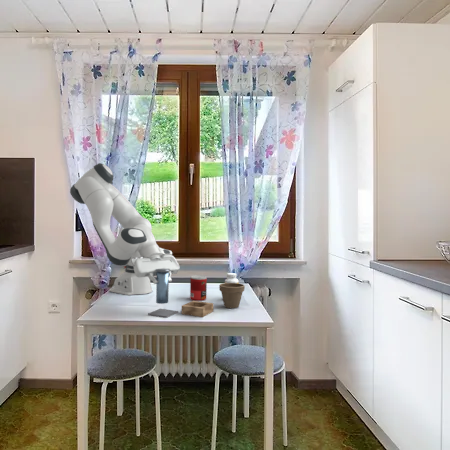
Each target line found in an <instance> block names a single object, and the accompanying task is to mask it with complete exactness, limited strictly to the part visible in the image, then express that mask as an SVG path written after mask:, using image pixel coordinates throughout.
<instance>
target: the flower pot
mask: <svg viewBox="0 0 450 450" xmlns="http://www.w3.org/2000/svg"><path fill="white" fill-rule="evenodd" d="M245 287H246V285H245V284H243V283H225V282H223V283H220V284H219V287H218V288H219V291H220V292H221V296H222V302H223V306H224V307H225V308H227V309H237V308H238V309H239V307H240V303H241V300H242V295H243V292H244V291H245Z"/></svg>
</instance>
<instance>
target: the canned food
mask: <svg viewBox="0 0 450 450" xmlns="http://www.w3.org/2000/svg"><path fill="white" fill-rule="evenodd" d="M189 280H190V285H189V286H190V287H189V293H190V294H189V298H190V300H191V301H199V302H204V301H206V300H207V288H208V286H207V281H208V279H207V276H206V275H191V276H190V279H189Z"/></svg>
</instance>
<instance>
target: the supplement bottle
mask: <svg viewBox="0 0 450 450" xmlns="http://www.w3.org/2000/svg"><path fill="white" fill-rule="evenodd" d="M237 276H238V275H237V273H235V272H227V273H226V277H227V278H226V279H224V283H239V279H238V278H237ZM239 284H240V283H239Z"/></svg>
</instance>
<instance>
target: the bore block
mask: <svg viewBox="0 0 450 450" xmlns="http://www.w3.org/2000/svg"><path fill="white" fill-rule="evenodd" d="M213 312H214V303H213V302H207V301H194V300H191V301H189V302H187V303H184V304H183V305H181V315H184V316H193V317H200V318H204V317H206V316H208V315H209V314H211V313H213Z"/></svg>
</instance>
